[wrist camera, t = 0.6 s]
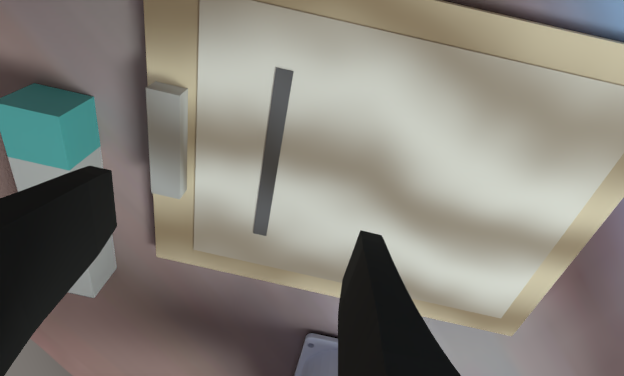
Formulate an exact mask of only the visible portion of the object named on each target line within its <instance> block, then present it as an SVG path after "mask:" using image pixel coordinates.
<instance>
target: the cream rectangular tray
mask: <svg viewBox="0 0 624 376" xmlns="http://www.w3.org/2000/svg"><path fill="white" fill-rule="evenodd" d="M143 3H144V23H145V43H146V62H147V82H148V87H146V105H147V123H148V142H149V160H150V178H151V193H153V200H154V220H155V239H156V257H160V258H164V259H169V260H173V261H178V262H182V263H187V264H191V265H195V266H200V267H204V268H209V269H213V270H218V271H222V272H227V273H231V274H236V275H240V276H245V277H249V278H254V279H258V280H262V281H267V282H271V283H276V284H280V285H285V286H289V287H294V288H298V289H303V290H307V291H312V292H316V293H321V294H325V295H329V296H334V297H338V298H340V294H341V287H342V279H343V277H344V274H345V271H346V268H347V266H348V263H349V260H350V257H351V255H352V252H353V249H354V247H355V244H356V241H357V238H358V236H359V233H360V230H362V231H366V232H370V233H374V234H379V235H382V237H383V239H384V241H385V243H386V246H387V248H388V250H389V253H390V255H391V257H392V259H393V262H394V264H395V266H396V268H397V270H398V273H399V275H400V277H401V279H402V281H403V283H404V285H405V287H406V289H407V291H408V293H409V295H410V296H411V298H412V300H413V302H414V304H415V306H416V308H417V309H418V311H419V313H420V315H421V316H423V317H428V318H432V319H437V320H441V321H446V322H450V323H455V324H459V325H463V326H468V327H472V328H477V329H481V330H486V331H490V332H495V333H499V334H504V335H508V336H513V334H514V333H515V332H516V331H517V329H518V328H519V327H520V326H521V324H522V323H523V322H524V321H525V319H526V318H527V317H528V316H529V314H530V313H531V312H532V311H533V309H534V308H535V307H536V306H537V304H538V303H539V302H540V301H541V299H542V298H543V297H544V296H545V294H546V293H547V292H548V291H549V289H550V288H551V287H552V286H553V284H554V283H555V282H556V281H557V280H558V278H559V277H560V276H561V275H562V273H563V272H564V271H565V270H566V268H567V267H568V266H569V265H570V263H571V262H572V261H573V260H574V258H575V257H576V256H577V255H578V253H579V252H580V251H581V250H582V248H583V247H584V246H585V245H586V243H587V242H588V241H589V240H590V238H591V237H592V236H593V235H594V233H595V232H596V231H597V230H598V228H599V227H600V226H601V225H602V223H603V222H604V221H605V220H606V218H607V217H608V216H609V215H610V213H611V212H612V211H613V210H614V208H615V207H616V206H617V205H618V203H619V202H620V201H621V200H622V199H623V197H624V42H620V41H615V40H611V39H607V38H603V37H598V36H594V35H590V34H585V33H581V32H577V31H572V30H568V29H564V28H559V27H555V26H551V25H546V24H542V23H538V22H534V21H529V20H525V19H521V18H516V17H512V16H508V15H503V14H499V13H495V12H490V11H486V10H482V9H478V8H473V7H469V6H465V5H460V4H456V3H452V2H447V1H443V0H143Z"/></svg>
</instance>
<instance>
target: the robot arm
mask: <svg viewBox="0 0 624 376" xmlns="http://www.w3.org/2000/svg"><path fill="white" fill-rule="evenodd" d="M116 227H117V222H116V212H115V202H114V192H113V183H112V173H111V170H107V169H103V168H98V167H94V166H87V167H84V168H80V169H78V170H75V171H72V172H69V173H67V174H64V175H61V176H59V177H56V178H53V179H51V180H48V181H46V182H43V183H40V184H38V185H35V186H32V187H30V188H27V189H25V190H22V191H19V192H17V193H14V194H11V195H9V196H6V197H3V198H0V376H4V375H5V374H6V372H7V371H8V369H9V368H10V366H11V365H12V363H13V362H14V360H15V359H16V357H17V356H18V355H19V353H20V352H21V350H22V349H23V347H24V346H25V344H26V343H27V341H28V340H29V339H30V337H31V336H32V335H33V333H34V332H35V331H36V329H37V328H38V327H39V326H40V324H41V323H42V322H43V320H44V319H45V318H46V317H47V316H48V315H49V313H50V312H51V311H52V310H53V309H54V308H55V306H56V305H57V304H58V303H59V302H60V300H61V299H62V298H63V297H64V296H65V295H66V293H67V292H68V291H69V290H70V289H71V288H72V286H73V285H74V284H75V283H76V282H77V280H78V279H79V278H80V277H81V276H82V275H83V273H84V272H85V271H86V270H87V269H88V267H89V266H90V265H91V264H92V263H93V261H94V260H95V259H96V258H97V256H98V255H99V254H100V252H101V251H102V249H103V248H104V246H105V245H106V243H107V241H108V240H109V238H110V237H111V235H112V233H113V232H114V230H115V228H116ZM294 376H461V375H460V374H459V373H458V371H457V370H456V369H455V367H454V366H453V365H452V363H451V362H450V360H449V359H448V357H447V356H446V354H445V353H444V352H443V350H442V349H441V347H440V346H439V344H438V343H437V341H436V340H435V338H434V336H433V335H432V333H431V332H430V330H429V328H428V327H427V325H426V323H425V322H424V320H423V318H422V316H421V315H420V313H419V311H418V309H417V308H416V306H415V304H414V302H413V300H412V298H411V296H410V295H409V293H408V291H407V289H406V287H405V285H404V283H403V281H402V279H401V277H400V275H399V273H398V270H397V268H396V266H395V264H394V262H393V259H392V257H391V255H390V253H389V250H388V248H387V246H386V243H385V241H384V239H383V237H382V235H379V234H374V233H370V232H366V231H362V230H360V233H359V236H358V238H357V241H356V244H355V247H354V249H353V252H352V255H351V257H350V260H349V263H348V266H347V268H346V271H345V274H344V277H343V279H342V287H341V294H340V303H339V311H338V339H337V338H332V337H328V336H323V335H319V334H315V333H309V334H307V335H306V338H305V341H304V345H303V348H302V351H301V355H300V358H299V361H298V364H297V368H296V371H295V374H294Z"/></svg>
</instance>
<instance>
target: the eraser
mask: <svg viewBox="0 0 624 376" xmlns="http://www.w3.org/2000/svg"><path fill="white" fill-rule="evenodd" d="M0 132H1V135H2V139H3V142H4V146H5V149H6V152H7V156H8V159H9V163H10V166H11V169H12V173H13V176H14V180H15V183H16V186H17V190H18V192H19V191H22V190H25V189H27V188H30V187H32V186H35V185H38V184H40V183H43V182H46V181H48V180H51V179H53V178H56V177H59V176H61V175H64V174H67V173H69V172H72V171H75V170H78V169H80V168H84V167H87V166H94V167H98V168H103V161H102V154H101V147H100V139H99V132H98V124H97V117H96V110H95V102H94V97H93V96H88V95H84V94H80V93H75V92H71V91H66V90H62V89H58V88H53V87H49V86H44V85H40V84H36V83H34V84H31V85H29V86H27V87H24V88H22V89H20V90H18V91H15V92H13V93H11V94H8V95H6V96H4V97H2V98H0ZM116 268H117V265H116V258H115V251H114V243H113V236H112V235H111V237H110V238H109V240H108V241H107V243H106V245H105V246H104V248H103V249H102V251H101V252H100V254H99V255H98V256H97V258H96V259H95V260H94V261H93V263H92V264H91V265H90V266H89V267H88V269H87V270H86V271H85V272H84V273H83V275H82V276H81V277H80V278H79V279H78V280H77V282H76V283H75V284H74V285H73V286H72V288H71V289H70V290H69V291H68V292H69V293H72V294H77V295H81V296H86V297H90V298H95V296H96V295H97V294H98V292H99V291H100V290H101V288H102V287H103V286H104V284H105V283H106V282H107V280H108V279H109V278H110V276H111V275H112V274H113V272H114V271H115V270H116Z"/></svg>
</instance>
